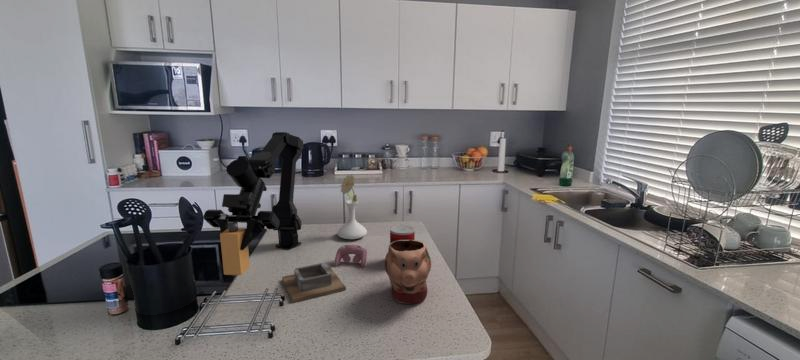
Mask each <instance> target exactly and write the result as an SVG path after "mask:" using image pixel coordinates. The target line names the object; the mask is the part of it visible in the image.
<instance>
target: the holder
mask: <svg viewBox="0 0 800 360" xmlns="http://www.w3.org/2000/svg"><path fill="white" fill-rule="evenodd" d="M293 272H294V273H293V274H290V275H285V276H281V278H282V279H281V280H282V283H283V285H284V287H285V288H286V290H287V293H288V295H289V298H290V300H291V301H292V304H294V303H299V302H303V301H308V300H312V299H315V298H319V297H325V296H328V295H332V294H335V293H340V292H344V291H346V290H347V289H346V288H347V287H346V285H345V284H344V282H342V280H341V279H340V278H339V277H338V275H337V274H336V273H335V272H334V270H333V269H332V267H330V266H328V267H327V265H326V264H325V263H324V264H323V263H315V264H310V265H306V266H301V267H296V268H295V269H294V270H293Z"/></svg>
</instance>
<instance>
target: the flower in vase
mask: <svg viewBox="0 0 800 360" xmlns="http://www.w3.org/2000/svg"><path fill="white" fill-rule="evenodd" d="M355 183H356V177H355V175H354V174H353V173H351V174H350V173H348V175H346V176H345V177H344V178H343V180H342V183H341V184H340V193H342V195H347V197H348V198H349V199H350V200H348V199H347V200H346V201H344V203H345V205H346V207H347V211H348V220H347V222H345V223H344V224H343V225H342V226H340V228H339V229H338V230H337V232H336V235H338V237H339V238H342V239H345V240H357V239H361V238H364V237H365V236H366V235H367V233H368V231H367V228H365V226H364V225H362V224H361V223H359V222H358V221H357V220H356V206H357V205H358V203H359V200H357V194H355V190H354V189H353V187H354V186H355ZM351 191H352V192H353V195H352V194H351V193H350V192H351Z"/></svg>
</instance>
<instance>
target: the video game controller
mask: <svg viewBox="0 0 800 360" xmlns="http://www.w3.org/2000/svg"><path fill="white" fill-rule="evenodd" d="M350 255H354V256H353V257H352V259H351V256H350ZM367 256H368V251H367V249H366V248H365V247H363V246H362V245H359V244H358V245H357V244H346V245H341V246H340V247H338V249H337V251H336V254H335V258H334V265H335V267H338V266H339V265H340V263H341V261H343V262H344V263H347V264H348V263H350V262H351V260H352V262H353V263H355V264H359V263H360V266H361V268H364V267H365V266H366V263H367Z"/></svg>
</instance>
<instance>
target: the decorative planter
mask: <svg viewBox="0 0 800 360" xmlns="http://www.w3.org/2000/svg"><path fill="white" fill-rule="evenodd" d="M387 249H388V250H387V253H386V255H385V258H384V270H385V272H386V274H387V276H388V278H389V282H390V286H391V290H390V294H391V298H392V299H393V300H394V301H395V302H398V303H400V304H417V303H421V302H424V301H425V300H426V298H427V296H428V285H427V279H428V277H429V274H430V271H431V269H432V259H431V256H430V254H429V252H428V249H427V246H426V244H425V243H424V242H423V241H421V240H416V239H415V240H398V241H394V242H392V243H391V244H390V243H389V245H388V248H387Z"/></svg>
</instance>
